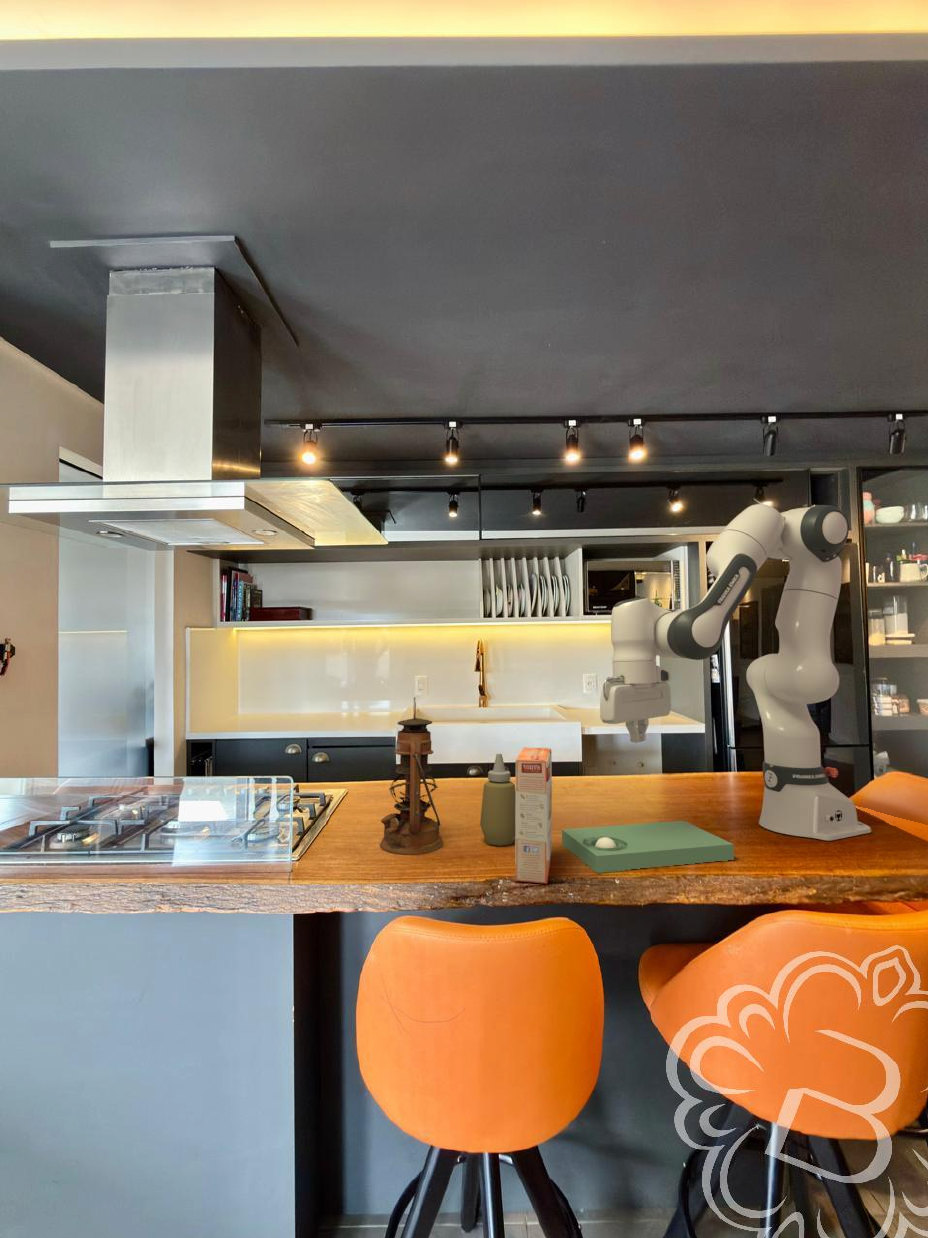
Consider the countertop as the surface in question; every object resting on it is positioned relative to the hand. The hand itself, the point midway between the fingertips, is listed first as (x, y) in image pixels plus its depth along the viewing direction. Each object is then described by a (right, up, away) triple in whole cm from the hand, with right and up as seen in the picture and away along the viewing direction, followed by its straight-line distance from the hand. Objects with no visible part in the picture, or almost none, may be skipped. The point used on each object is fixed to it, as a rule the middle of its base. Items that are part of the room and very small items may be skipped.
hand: (638, 741), depth 119 cm
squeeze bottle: (-29, -21, 0) cm, 36 cm away
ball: (-9, -18, -10) cm, 23 cm away
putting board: (-1, -20, -6) cm, 21 cm away
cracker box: (-23, -20, -15) cm, 34 cm away
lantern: (-47, -21, -1) cm, 51 cm away
